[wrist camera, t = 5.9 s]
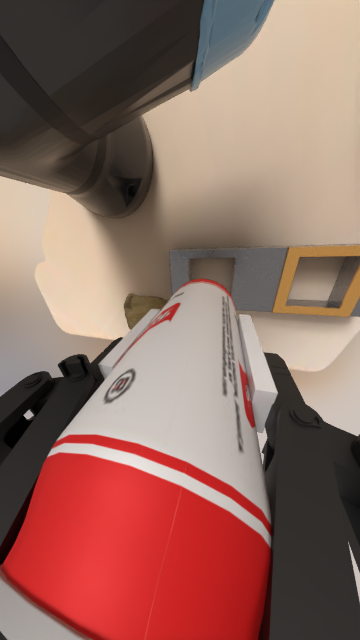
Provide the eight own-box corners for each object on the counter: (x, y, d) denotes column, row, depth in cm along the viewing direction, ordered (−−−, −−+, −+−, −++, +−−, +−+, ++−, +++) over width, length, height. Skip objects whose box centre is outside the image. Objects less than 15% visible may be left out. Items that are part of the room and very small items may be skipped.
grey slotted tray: (176, 300, 33) (172, 306, 30) (173, 249, 28) (168, 250, 26) (347, 308, 26) (362, 317, 24) (380, 243, 22) (403, 244, 19)
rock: (113, 309, 35) (143, 341, 36) (99, 303, 27) (138, 345, 27) (149, 279, 37) (177, 310, 37) (146, 264, 28) (183, 305, 29)
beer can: (167, 318, 18) (5, 567, 5) (184, 266, 15) (-195, 585, 1) (217, 339, 18) (203, 667, 4) (246, 290, 15) (556, 997, 1)
